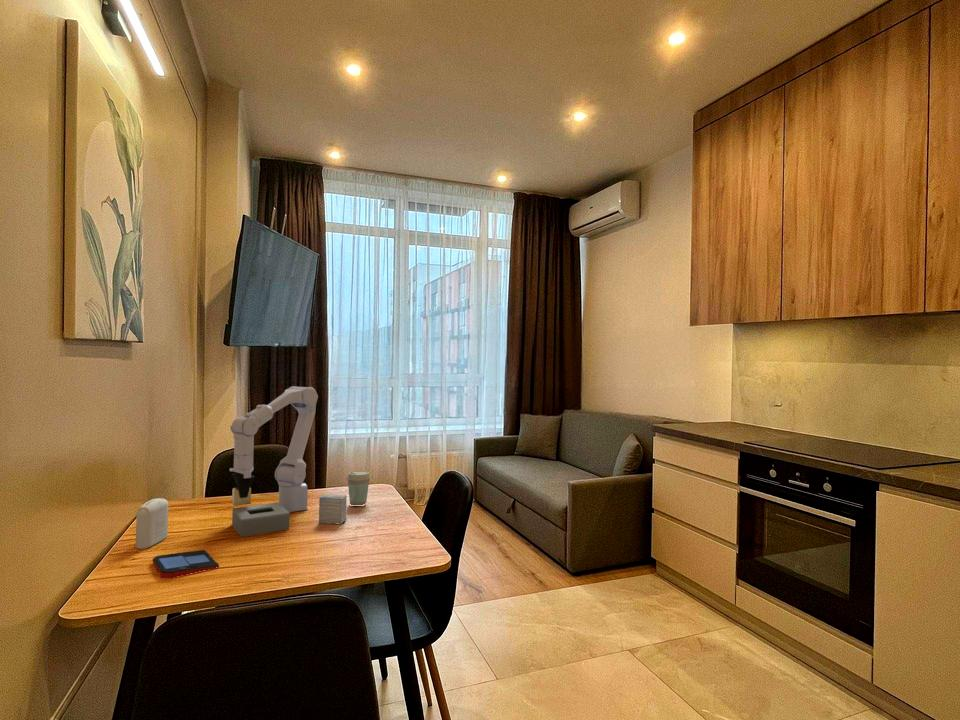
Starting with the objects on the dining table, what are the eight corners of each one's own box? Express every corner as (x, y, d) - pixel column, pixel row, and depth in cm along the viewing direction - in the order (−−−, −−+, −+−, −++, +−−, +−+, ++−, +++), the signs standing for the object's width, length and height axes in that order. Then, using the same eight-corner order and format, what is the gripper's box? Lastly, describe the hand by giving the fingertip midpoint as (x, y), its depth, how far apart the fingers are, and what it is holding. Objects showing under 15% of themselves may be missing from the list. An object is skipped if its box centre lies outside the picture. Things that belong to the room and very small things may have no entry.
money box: (277, 517, 171) (277, 502, 171) (289, 529, 160) (289, 512, 160) (232, 524, 163) (232, 508, 163) (240, 537, 152) (241, 519, 152)
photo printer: (155, 536, 150) (156, 495, 151) (169, 537, 151) (171, 495, 151) (132, 549, 140) (133, 504, 140) (148, 549, 140) (149, 504, 140)
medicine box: (346, 520, 170) (347, 495, 170) (341, 525, 166) (342, 498, 166) (323, 519, 171) (324, 493, 171) (318, 523, 166) (319, 497, 166)
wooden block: (248, 501, 167) (249, 486, 167) (250, 503, 164) (251, 488, 164) (232, 503, 164) (232, 488, 164) (233, 506, 162) (234, 490, 162)
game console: (219, 569, 129) (220, 560, 129) (161, 583, 121) (161, 573, 121) (205, 553, 140) (205, 545, 140) (150, 564, 131) (151, 555, 131)
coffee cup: (347, 502, 193) (348, 470, 193) (370, 501, 194) (371, 470, 194) (344, 508, 184) (345, 475, 185) (368, 508, 185) (369, 475, 185)
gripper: (226, 451, 168) (225, 492, 168) (234, 459, 156) (232, 503, 156) (249, 450, 172) (248, 490, 172) (258, 457, 160) (257, 500, 160)
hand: (242, 496), depth 164 cm, fingers closed on wooden block, 3 cm apart
